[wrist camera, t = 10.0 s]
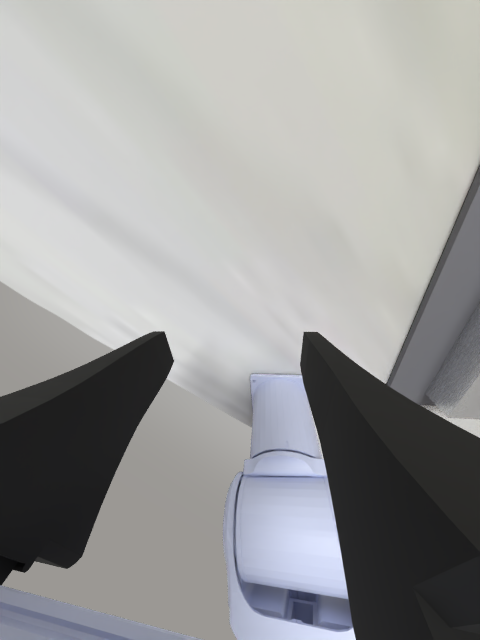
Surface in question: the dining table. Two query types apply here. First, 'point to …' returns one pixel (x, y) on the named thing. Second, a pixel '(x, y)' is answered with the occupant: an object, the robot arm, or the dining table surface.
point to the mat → (443, 305)
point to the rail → (460, 375)
